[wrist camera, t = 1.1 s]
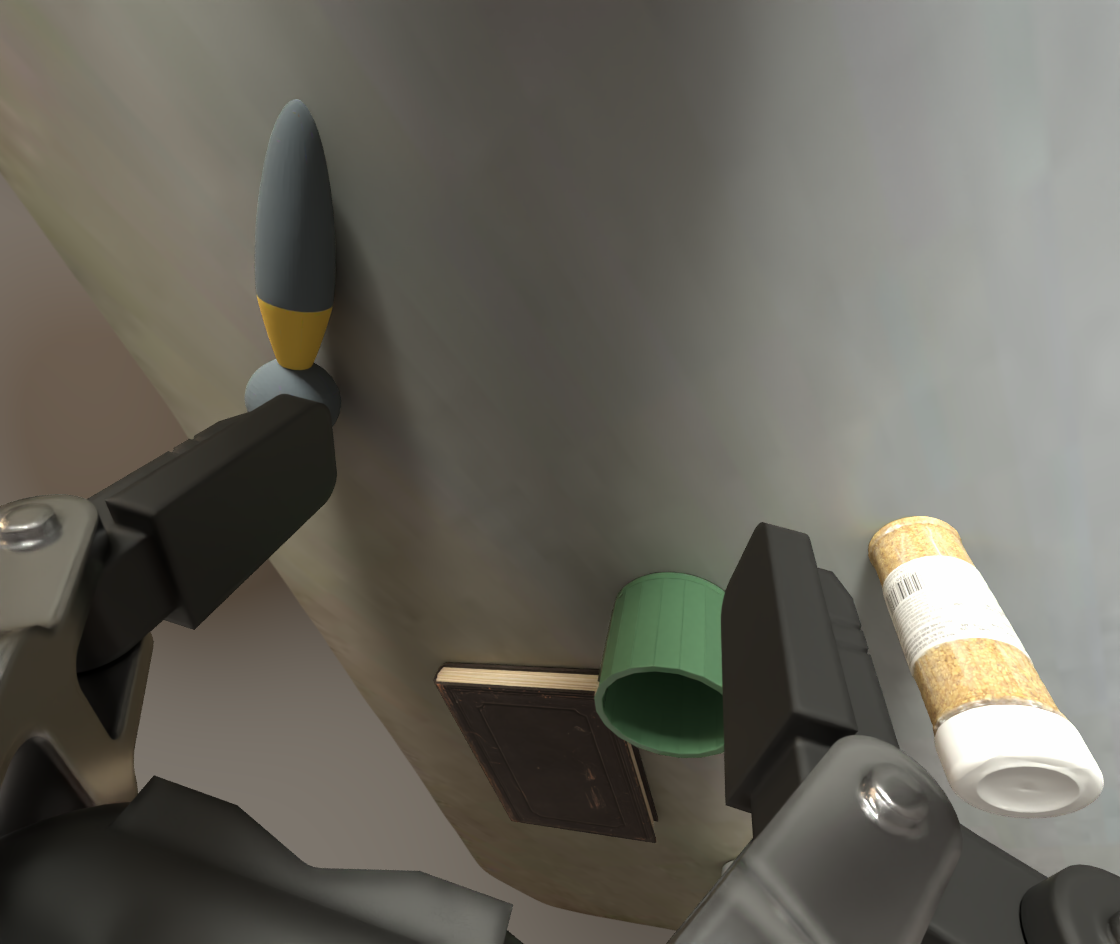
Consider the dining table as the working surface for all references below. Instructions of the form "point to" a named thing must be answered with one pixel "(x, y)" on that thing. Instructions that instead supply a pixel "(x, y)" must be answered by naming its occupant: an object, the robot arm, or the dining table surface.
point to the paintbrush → (294, 262)
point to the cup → (664, 666)
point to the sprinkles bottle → (978, 680)
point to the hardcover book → (549, 748)
